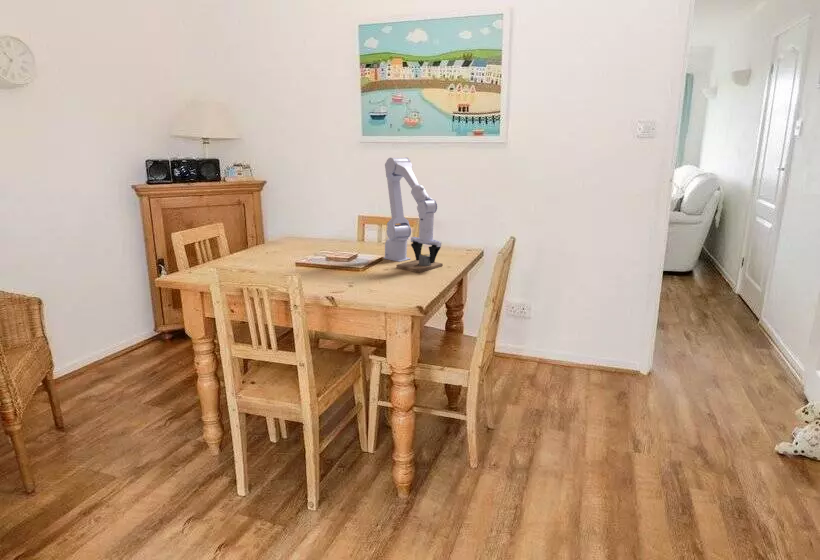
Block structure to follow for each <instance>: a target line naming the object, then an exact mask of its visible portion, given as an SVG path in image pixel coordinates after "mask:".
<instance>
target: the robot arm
mask: <svg viewBox="0 0 820 560" xmlns="http://www.w3.org/2000/svg"><path fill="white" fill-rule="evenodd" d="M384 168H385V170H384V171H385V177H386V182H387V189H388V191H387V192H388V197H389V198H388V199H389V205H390V214H391V215H390V216H391V218H390V219H389V221H387V223H386V227H387V228H386V236H387V237H388V238H387V239H386V241H385V243H384V257H383V259H385V260H390V261H393V262H399V263H401V262H405V261H408V260H411V257H409V256H408V255H407V253H408V251H407V250H408V248H407V247H408V240H409V238H410V242H411V244H410V246H411V247H412V250H413V252H414V255H415V256H414V257H415V260H419V255H420V254H422V247H423V245H428V250H429V255H430V263H434V262H436V258H437V255H438V253H439V251H440V250H441V248H442V241H440V240H439V241H438V240H436V239H434V221H435V213H437V210H438V204H437V200H435V199H434V198H433V197H430V195H429V193H428V192H427V191H426V189H425V186H424V185H422V184H419V182H418V179H417V177H416V175H415V173H414V171H413V170H412V169H413V163H412V162H411V160H410V158H409V157H389V158H387V159H386V161H385V163H384ZM402 178H404V180H405V181H406V183H407V184H408V186H409V187H410V188H411V190H410V194H411V195H412V197H413V200H414V201H415V202H416V204H417V206H416V209H417V213H418V219H419V230H418V231H419V232H418V237H416V236H413V237H412V236H411V235H412V227H411V225H410V220H409V219H407V218H406V217H405V215H404V207H403V206H404V205H403V199H402V191H401V182H400V181H401V180H402Z"/></svg>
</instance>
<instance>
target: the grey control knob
mask: <svg viewBox="0 0 820 560" xmlns="http://www.w3.org/2000/svg"><path fill="white" fill-rule="evenodd" d="M419 265H420V266H430V265H431V263H430V253H421V254H420V255H419Z"/></svg>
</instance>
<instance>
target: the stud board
mask: <svg viewBox="0 0 820 560" xmlns="http://www.w3.org/2000/svg"><path fill="white" fill-rule="evenodd" d="M443 266H444V265H443V263H441V262H437V261H435V262H434V263H431V265H430V266H420V265H419V260H416V259H414V260H411V261H406V262H403V263H399V264H396V269H401V270H405V271H410V272H412V273H413V272H414V273H419V274H420V273H423V272H427V271H431V270H434V269H437V268H438V269H439V268H442V267H443Z"/></svg>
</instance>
